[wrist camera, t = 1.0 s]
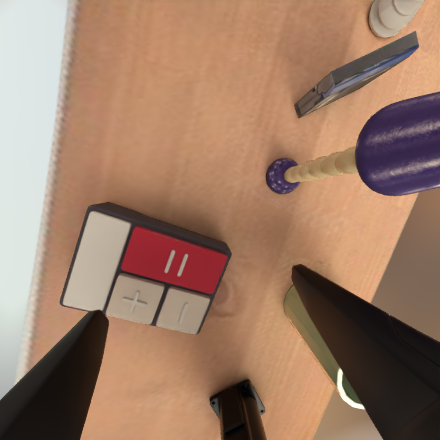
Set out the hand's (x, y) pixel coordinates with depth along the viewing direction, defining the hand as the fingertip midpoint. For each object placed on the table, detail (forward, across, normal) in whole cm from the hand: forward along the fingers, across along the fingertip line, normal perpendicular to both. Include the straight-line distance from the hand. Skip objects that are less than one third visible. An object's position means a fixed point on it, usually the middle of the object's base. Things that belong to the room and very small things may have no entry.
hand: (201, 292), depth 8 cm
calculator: (+12, +6, +8) cm, 16 cm away
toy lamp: (+15, -11, 0) cm, 19 cm away
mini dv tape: (+18, -18, -7) cm, 26 cm away
